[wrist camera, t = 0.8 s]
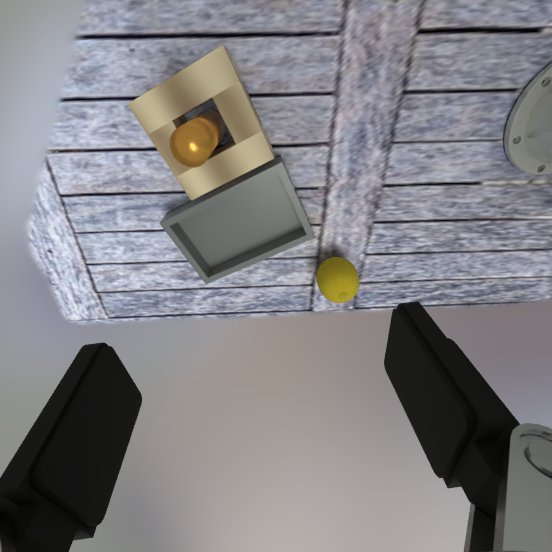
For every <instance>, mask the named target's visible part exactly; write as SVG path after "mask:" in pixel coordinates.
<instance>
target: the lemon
mask: <svg viewBox="0 0 552 552" xmlns="http://www.w3.org/2000/svg"><path fill="white" fill-rule="evenodd" d="M316 278H317V284H318V287H319V289H320V291H321V293H322V294H323V295H324V296H325V297H326V298H327V299H328V300H330V301H332V302H335V303H343V302H347V301H349V300H351V299H352V298H353V297H354V296H355V295H356V293H357V291H358V288H359V277H358V273H357V271H356V269H355V267H354V266H353V264H352V263H350V262H349V261H348V260H346V259H344V258H341V257H332V258H329V259H327V260H325V261H324V262H323V263H322V264H321V265H320V266H319V269H318V271H317V277H316Z"/></svg>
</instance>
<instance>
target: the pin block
mask: <svg viewBox="0 0 552 552" xmlns="http://www.w3.org/2000/svg"><path fill="white" fill-rule="evenodd" d="M212 98H213V100H214V102H215V104H216V106H217V108H218V110H219V112H220V114H221V116H222V118H223V119H224V121H225V123H226V125H227V127H228V129H229V131H230V133H231V135H232V137H233V139H234V140H232V141H230V142H228V143H226V144H224V145H223V146H221V147H219V148H217V149H215V150H214V151H213V152H212V153H211V155H210V156H209V158H208V159H207V161H206V162H205V163H204V164H203V165H201V166H199V167H195V168H191V167H186V166H184V165H182V164H181V163H179V162H178V161H177V160H176V159H175V157H174V156H173V154H172V152H171V149H170V137H171V135H172V133H173V131H174V130H175V129H177V128H178V127H180V126H181V125H183V124H185V123H187V120H186V118H185V116H184V115H185V114H187V113H188V112H190V111H192V110H194V109H195V108H197V107H199V106H200V105H202V104H204V103H206V102H207V101H209V100H211V99H212ZM127 105H128V106H129V108H130V109H131V111H132V112H133V114H134V115H135V117H136V118H137V120H138V121H139V123H140V124H141V126H142V127H143V129H144V130H145V132H146V133H147V135H148V136H149V138H150V139H151V141H152V142H153V144H154V145H155V147H156V148H157V150H158V151H159V153H160V154H161V156H162V157H163V159H164V160H165V162H166V163H167V165H168V166H169V168H170V169H171V171H172V172H173V174H174V175H175V177H176V178H177V180H178V182H179V183H180V185H181V186H182V188H183V189H184V191H185V192H186V194H187V195H188V197H189V198H190V200H191V201H192V200H194V199H196V198H198V197H200V196H201V195H203V194H205V193H207V192H209V191H211V190H213V189H215V188H217V187H219V186H221V185H223V184H225V183H227V182H229V181H231V180H233V179H235V178H237V177H239V176H241V175H243V174H245V173H247V172H249V171H251V170H253V169H255V168H257V167H259V166H261V165H263V164H265V163H267V162H269V161H270V160H272V159H274V154H273V148H272V146H271V144H270V142H269V139H268V137H267V135H266V133H265V130H264V128H263V126H262V124H261V121H260V119H259V117H258V115H257V112H256V110H255V108H254V106H253V103H252V101H251V99H250V97H249V95H248V92H247V90H246V88H245V86H244V83H243V81H242V79H241V77H240V74H239V72H238V70H237V68H236V65H235V63H234V61H233V59H232V56H231V54H230V52H229V50H228V49H227V48H226V47H225V46H224V45H222V46H220V47H218V48H217V49H215V50H214V51H212V52H210V53H209V54H207V55H206V56H204V57H202V58H201V59H199V60H198V61H196V62H194V63H193V64H191V65H190V66H188V67H186V68H185V69H183V70H182V71H180V72H178V73H177V74H175V75H174V76H172V77H170V78H169V79H167V80H166V81H164V82H162V83H161V84H159V85H158V86H156V87H154V88H153V89H151V90H150V91H148V92H146V93H145V94H143V95H142V96H140V97H138V98H137V99H135V100H134V101H132V102H130V103H129V104H127Z"/></svg>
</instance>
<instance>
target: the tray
mask: <svg viewBox="0 0 552 552" xmlns="http://www.w3.org/2000/svg"><path fill="white" fill-rule="evenodd" d="M160 225H161V226H162V227H163V229H164V230H165V231H166V232H167V234H168V235H169V236H170V238H171V239H172V240H173V242H174V243H175V244H176V246H177V247H178V248H179V249H180V251H181V252H182V253H183V255H184V256H185V257H186V259H187V260H188V261H189V263H190V264H191V265H192V266H193V268H194V269H195V270H196V272H197V273H198V274H199V276H200V277H201V278H202V280H203V281H204V282H205V284H208V283H210V282H213V281H215V280H217V279H220V278H222V277H224V276H227V275H229V274H231V273H234V272H236V271H238V270H241V269H243V268H245V267H248V266H250V265H252V264H255V263H257V262H259V261H262V260H264V259H266V258H269V257H271V256H273V255H276V254H278V253H280V252H282V251H285V250H287V249H289V248H292V247H294V246H296V245H299V244H301V243H303V242H306V241H308V240H310V239H313V238H315V236H314V233H313V230H312V227H311V224H310V222H309V220H308V217H307V215H306V213H305V210H304V208H303V206H302V204H301V201H300V199H299V197H298V194H297V192H296V190H295V188H294V185H293V183H292V181H291V178H290V176H289V174H288V172H287V169H286V167H285V165H284V162H283V160H282V158H281V156H280V155H279V156H277V157H275V158H274V159H272V160H270V161H269V162H267V163H265V164H263V165H261V166H259V167H257V168H255V169H253V170H251V171H249V172H247V173H245V174H243V175H241V176H239V177H237V178H235V179H233V180H231V181H229V182H227V183H225V184H223V185H221V186H219V187H217V188H215V189H213V190H211V191H209V192H207V193H205V194H203V195H201V196H200V197H198V198H196V199H194V200H192V201H189V202H187V203H185V204H183V205H181V206H179V207H177V208H175V209H173V210H171V211H169V212H167V214H166V215H165V217H164V218H163V219H162V221H161V222H160Z"/></svg>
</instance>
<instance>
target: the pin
mask: <svg viewBox="0 0 552 552" xmlns="http://www.w3.org/2000/svg"><path fill="white" fill-rule="evenodd" d="M225 131H226V123H225V121H224V119H223V118H222V116H221V115H220V114H219V113H218V112H216V111H212V110H209V111H206V112H204V113H202V114H200V115H199V116H197V117H195V118H193V119H192V120H190V121H188V122H187V123H185V124H183V125H181V126H180V127H178V128H177V129H175V130H174V131H173V133H172V135H171V137H170V149H171V152H172V154H173V156H174V157H175V159H176V160H177V161H178V162H179V163H181V164H182V165H184V166H186V167H191V168H195V167H199V166H201V165H203V164H204V163H205V162H206V161H207V159H208V158H209V156H210V155H211V153H212V152H213V151H214V149H215V148H216V146H217V145H218V143H219V142H220V140H221V139H222V137H223V136H224V134H225Z"/></svg>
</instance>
